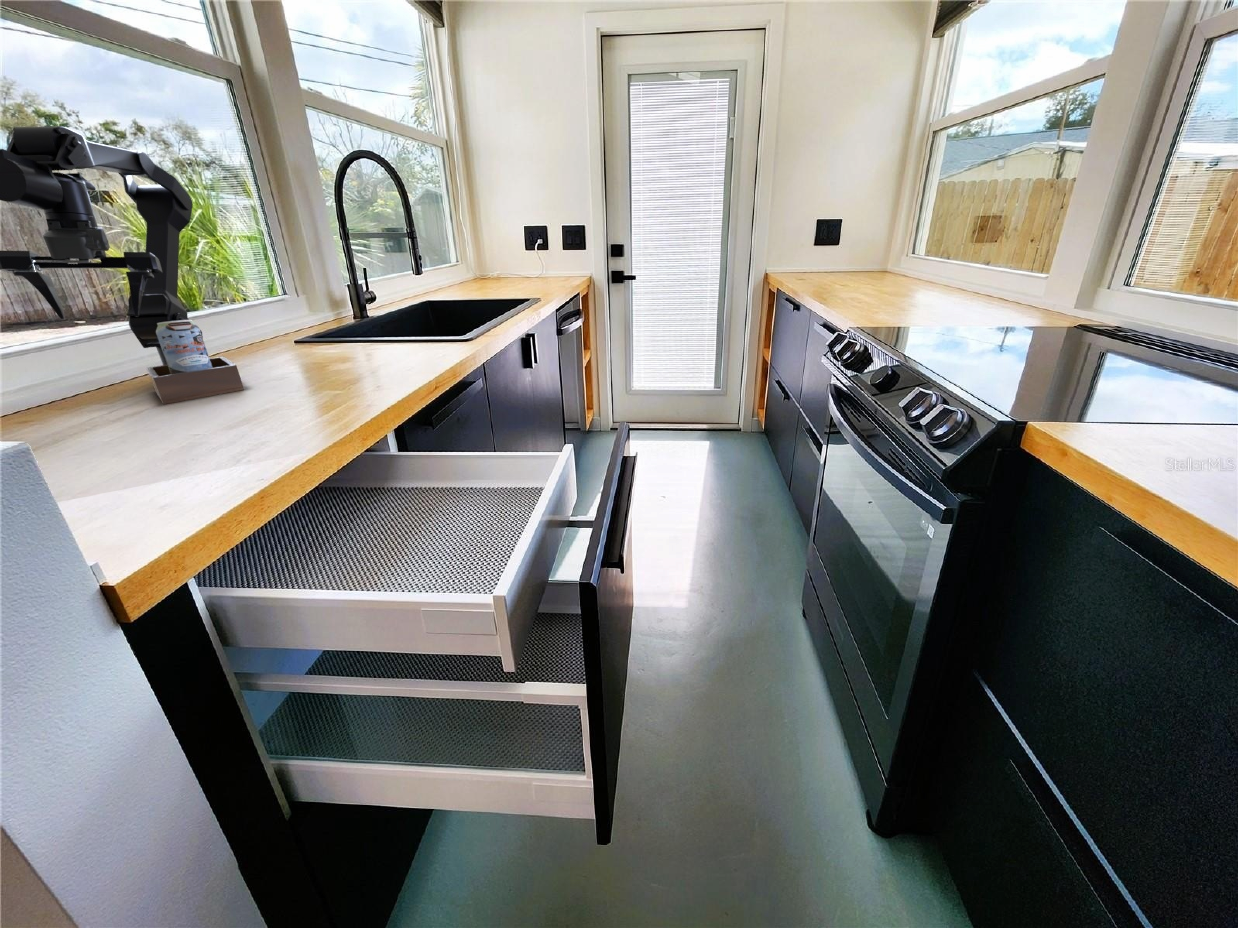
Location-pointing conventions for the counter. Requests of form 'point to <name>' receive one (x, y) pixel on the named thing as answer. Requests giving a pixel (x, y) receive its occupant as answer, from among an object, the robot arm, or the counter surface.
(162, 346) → the beverage can
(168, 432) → the counter surface
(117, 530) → the counter surface
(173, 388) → the brown rectangular open box
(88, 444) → the counter surface
